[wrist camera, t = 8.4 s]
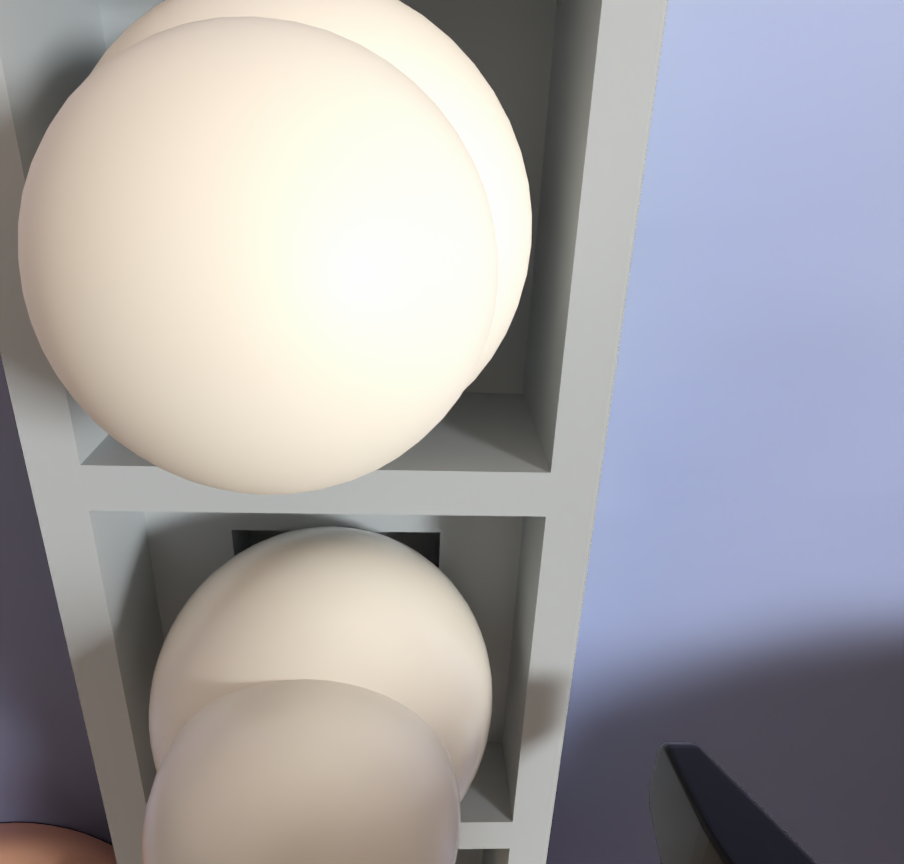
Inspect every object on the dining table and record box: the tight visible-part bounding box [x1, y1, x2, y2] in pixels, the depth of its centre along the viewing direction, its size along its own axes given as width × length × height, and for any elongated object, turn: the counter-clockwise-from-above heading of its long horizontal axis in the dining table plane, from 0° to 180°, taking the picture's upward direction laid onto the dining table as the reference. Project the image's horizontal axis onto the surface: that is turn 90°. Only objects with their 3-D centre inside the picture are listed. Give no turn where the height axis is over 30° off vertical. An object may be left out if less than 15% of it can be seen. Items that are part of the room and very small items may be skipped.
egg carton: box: [0, 0, 668, 864], centre depth 11 cm, size 7×25×8 cm, turn 178°
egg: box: [142, 526, 492, 864], centre depth 9 cm, size 4×4×6 cm
